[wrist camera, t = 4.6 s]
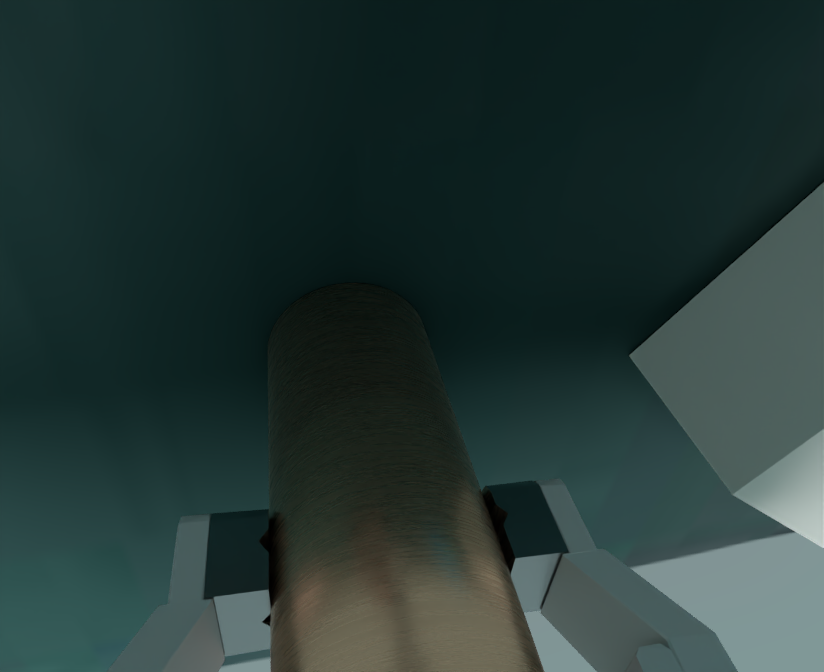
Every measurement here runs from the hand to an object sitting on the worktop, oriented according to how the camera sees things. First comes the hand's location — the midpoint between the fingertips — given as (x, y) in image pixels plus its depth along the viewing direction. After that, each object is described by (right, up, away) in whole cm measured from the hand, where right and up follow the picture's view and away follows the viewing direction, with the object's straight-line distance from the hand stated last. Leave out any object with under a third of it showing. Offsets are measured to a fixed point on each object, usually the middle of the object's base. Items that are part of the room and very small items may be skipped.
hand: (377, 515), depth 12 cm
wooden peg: (-1, +3, +4) cm, 5 cm away
